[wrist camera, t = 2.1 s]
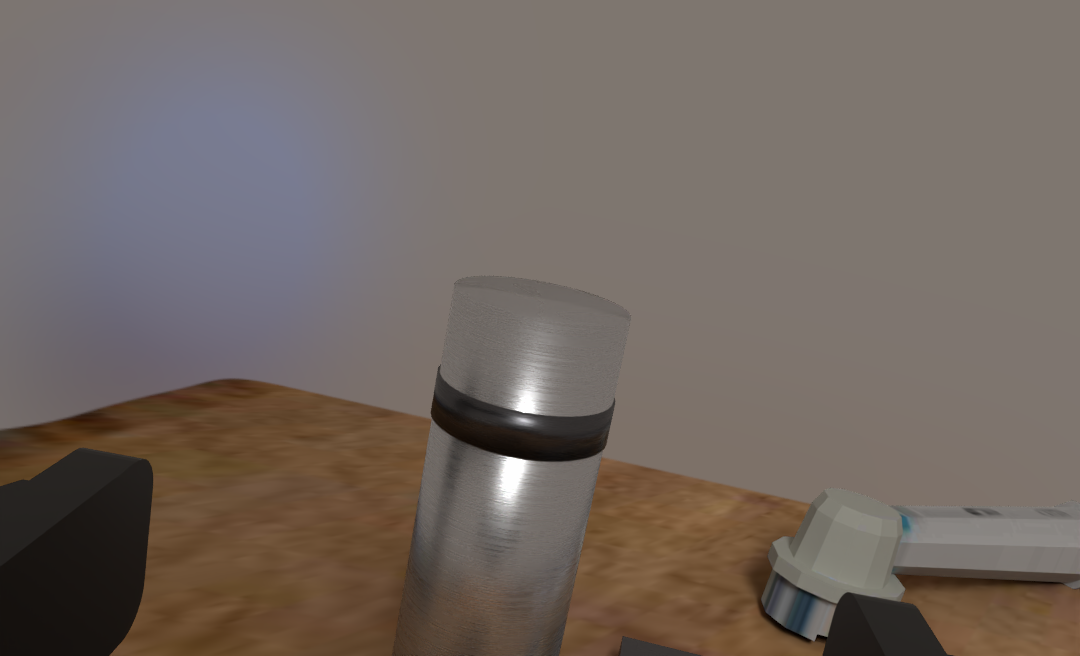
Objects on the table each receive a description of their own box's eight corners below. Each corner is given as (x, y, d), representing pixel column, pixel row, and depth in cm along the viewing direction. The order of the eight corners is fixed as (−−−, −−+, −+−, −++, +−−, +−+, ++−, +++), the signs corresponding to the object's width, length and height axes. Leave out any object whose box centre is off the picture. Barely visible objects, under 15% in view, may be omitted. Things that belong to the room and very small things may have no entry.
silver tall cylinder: (329, 927, 24) (431, 297, 20) (380, 812, 28) (473, 266, 24) (491, 974, 24) (627, 339, 20) (519, 850, 28) (637, 301, 24)
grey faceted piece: (1168, 534, 53) (871, 504, 39) (1118, 645, 54) (812, 654, 40) (1076, 491, 57) (779, 450, 43) (1032, 595, 58) (728, 587, 44)
